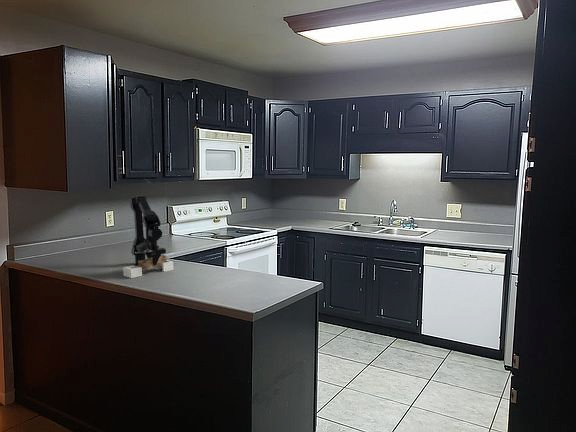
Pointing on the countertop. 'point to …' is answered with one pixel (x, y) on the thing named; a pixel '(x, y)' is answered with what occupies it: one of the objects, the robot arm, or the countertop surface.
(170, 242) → the countertop surface
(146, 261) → the brown bar
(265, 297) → the countertop surface
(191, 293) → the countertop surface
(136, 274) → the cap
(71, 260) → the countertop surface
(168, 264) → the cap
